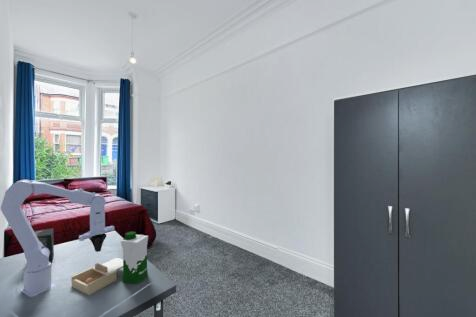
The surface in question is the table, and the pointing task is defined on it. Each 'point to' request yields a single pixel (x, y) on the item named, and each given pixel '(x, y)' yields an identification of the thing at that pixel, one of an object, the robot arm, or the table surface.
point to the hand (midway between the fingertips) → (97, 250)
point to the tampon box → (47, 240)
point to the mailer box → (97, 284)
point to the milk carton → (134, 257)
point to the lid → (109, 266)
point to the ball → (89, 280)
